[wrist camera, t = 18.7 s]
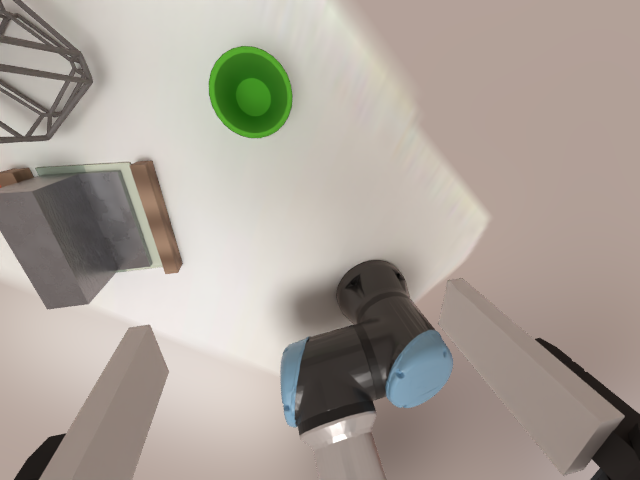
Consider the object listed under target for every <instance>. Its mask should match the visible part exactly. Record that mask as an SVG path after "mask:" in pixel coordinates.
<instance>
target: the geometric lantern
mask: <svg viewBox="0 0 640 480" xmlns="http://www.w3.org/2000/svg"><path fill="white" fill-rule="evenodd" d="M13 1H14V2H15V3H16V4H18V5H19V6H20V7H21V8H22V9H23V10H25V11H26V12H27V13H28V14H29V15H30V16H32V17H33V18H34V19H35V20H36V21H38V22H39V23H40V24H41V25H42V26H43V27H45V28H46V29H47V30H48V31H49V32H50V33H52V34H53V35H54V36H55V37H56V38H57V39H59V40H60V41H61V42H62V43H63V44H64V45H66V46H67V47H68V48H69V49H65V48H64V47H63V46H61V45H60V44H58V43H57V42H56V41H54V40H53V39H52V38H50V37H49V36H48V35H46V34H45V33H44V32H42V31H41V30H39V29H38V28H37V27H35V26H34V25H33V24H31V23H30V22H29V21H27V20H26V19H25V18H23V17H22V16H20V15H19V14H13V13H10V12H7V11H6V10H5V8H4V6H3V4H2V2H1V0H0V18H3V20H2V22H1V24H0V42H1V43H7V44H12V45H17V46H23V47H28V48H34V49H39V50H44V51H50V52H55V53H59V54H60V55H61V56H63V57H64V58H66V59H67V60H68V61H70V63H71V66H72V70H71V72H70V74H69V76H68V75H62V74H56V73H50V72H45V71H39V70H33V69H27V68H22V67H16V66H10V65H4V64H0V71H3V72H10V73H17V74H23V75H30V76H37V77H44V78H51V79H57V80H64V81H65V83H64V85H63V87H62V89H61V91H60V92H59V94H58V96H57V98H56V100H55V102H54V104H53V105H52V107H51V109H50V111H48V110H46V109H44V108H43V107H41V106H40V105H38V104H36V103H35V102H33V101H32V100H30V99H29V98H27V97H25V96H24V95H22V94H21V93H19V92H17V91H16V90H14V89H13V88H11V87H9V86H8V85H6V84H5V83H3V82H2V81H0V84H1V85H2V86H4V87H6V88H7V89H9V90H10V91H12V92H14V93H15V94H17V95H18V96H20V97H22V98H23V99H25V100H26V101H28V102H30V103H31V104H33V105H34V106H36V107H38V108H39V109H41V110H42V111H44V112H46V113H41V112H40V111H38V110H37V109H35V108H33V107H32V106H30V105H28V104H27V103H25V102H24V101H22V100H20V99H19V98H17V97H15V96H14V95H12V94H11V93H9V92H7V91H6V90H4V89H2V88H1V87H0V91H1V92H3V93H5V94H6V95H8V96H10V97H11V98H13V99H15V100H16V101H18V102H19V103H21V104H23V105H24V106H26V107H28V108H29V109H31V110H33V111H34V112H36V113H37V114H39V115H40V116H39V117H38V119H37V120H36V122H35V123H34V124H33V126H32V127H31V129H30V130H29V131H28V133H27V134H26V135H25V136H22V135H21V134H19V133H18V132H16V131H15V130H13V129H12V128H10V127H9V126H7V125H6V124H4V123H3V122H1V121H0V127H2V128H3V129H5V130H6V131H8V132H9V133H11V134H12V135H14V136H15V137H0V143H13V142H33V141H46V140H50V139H51V137H52V136H53V135H54V133H55V132H56V131H57V129H58V128H59V127H60V126H61V124H62V123H63V122H64V120H65V119H66V118H67V116H68V115H69V114H70V112H71V111H72V110H73V108H74V107H75V106H76V104H77V103H78V102H79V100H80V99H81V98H82V96H83V95H84V94H85V92H86V91H87V90H88V89H89V87H90V86H91V85H92V83H93V80H92V76H91V74H90V71H89V69H88V66H87V64H86V61H85V59H84V57H83V55H82V53H81V51H79V50H78V49H76V48H75V47H74V46H73V45H72V44H71V43H70V42H68V41H67V40H66V39H65V38H64V37H63V36H61V35H60V34H59V33H58V32H57V31H56V30H54V29H53V28H52V27H51V26H50V25H49V24H48V23H46V22H45V21H44V20H43V19H42V18H41V17H39V16H38V15H37V14H36V13H35V12H34V11H32V10H31V9H30V8H29V7H28V6H27V5H26V4H24V3H23V2H22V1H21V0H13ZM2 14H5V15H6V16H5V15H2ZM16 18H19V19H21V20H22V21H23V22H25V23H26V24H28V25H29V26H30V27H32V28H33V29H34V30H36V31H37V32H38V33H40V34H41V35H43V36H44V37H45V38H47V39H48V40H49V41H51V42H52V43H54V44H55V45H56V46H58V47H55V46H53V45H52V44H50V43H49V42H47V41H46V40H45V39H43V38H42V37H41V36H39V35H38V34H36V33H35V32H34V31H32V30H31V29H30V28H28V27H27V26H25V25H24V24H23V23H21V22H20V21H19V20H17V19H16ZM10 19H12V20H13V21H14V22H16V23H17V24H19V25H20V26H21V27H23V28H24V29H25V30H27V31H28V32H30V33H31V34H32V35H34V36H35V37H37V38H38V39H39V40H41V41H42V42H43V43H45V44H41V43H36V42H32V41H27V40H22V39H17V38H13V37H8V36H3V35H2V33H3V31H4V29H5V27H6V24H7V22H8V20H10ZM65 54H67V55H70V56H71V57H68V56H67V55H65ZM74 62H77V63H80V65H81V67H82V68H83V69H77V68H76V66H75V64H74ZM75 72H77V73H79V74H80V75H82V76H81V78H79V77H73V76H74V74H75ZM83 72H84V73H83ZM85 78H86V79H85ZM70 81H71V82H78V83H77V85H76V87H75V88H74V90H73V92H72V94H71V96H70V97H69V99H68V101H67V103H66V104H65V106H64V108H63V110H62V111H61V112H54V111H55V109H56V107H57V105H58V104H59V102H60V100H61V98H62V96H63V94H64V92H65V91H66V89H67V87H68V85H69V83H70ZM82 83H84V84H83V86H82V87H81V88H80V86H81V84H82ZM79 88H80V90H79ZM78 90H79V91H78ZM77 91H78V92H77ZM76 93H77V94H76ZM52 116H53V117H58V116H59V118H58V119H57V120H56V122H55V123H54V124H53V126H52ZM44 117H48V122H47V134H46V135H41V136H31V135H32V133H33V132H34V131H35V129H36V128H37V126H38V125H39V124H40V122H41V121H42V119H43V118H44Z"/></svg>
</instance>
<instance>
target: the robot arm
mask: <svg viewBox="0 0 640 480" xmlns="http://www.w3.org/2000/svg"><path fill="white" fill-rule="evenodd" d="M337 301H338V304H339V306H340V309H341V311H342V313H343V314H344V315H345V316H346V317H347V318H348V319H349V320H350V321H351V322H352V323H353V324H354V325H351V326H347V327H344V328H341V329H337V330H334V331H331V332H327V333H323V334H320V335H316V336H313V337H307V338H306V339H303V340H301V341H298V342H295V343H292V344H290V345H289V346H287V347H286V349H285V350H284V352H283V356H282V360H281V395H282V403H283V404H284V415H285V419H286V422H287V424H288V425H289V426H292V427H297V426H298V429H299V435H300V439H301V440H302V441H303V442H304V443H306V444H307V445H308V446H310V447H311V448H312V450H313V451H314V456H315V461H316V467H317V472H318V477H319V480H387V479H386V476H385V473H384V470H383V467H382V463H381V460H380V457H379V454H378V451H377V447H376V445H375V441H374V438H373V435H372V426H373V423H374V420H375V418H376V415H377V413H376V410H375V407H374V404H373V401H374V400H377V399H380V398H383V397H386V396H387V398H388V399H389V401H391V402H392V404H393V405H395V406H397V407H400V408H401V407H404V408H410V407H414V406H417V405H420V404H422V403H424V402H426V401H427V400H429V399H430V398H432V397H433V396H434V395H435V394H436V393H438V391H440V390H441V388H442V387H443V386H444V385H445V383H446V382H447V380H448V379H449V377H450V374H451V372H452V368H453V358H452V355H451V353H450V350H449V349H448V347H447V346H446V344H445V343H444V341H443V340H442V338H441V336H440V334H439V333H438V332H437V331H436V330H435V329H434V328H433V327H432V325H431V324H430V323H429V322H428V320H427V319H426V318H425V317H424V315H423V314H422V313H421V312H420V310H419V309H418V308H417V306H416V305H415V304H414V303H413V302H412V300H411V299H410V296H409V292H408V289H407V285H406V281H405V279H404V277H403V275H402V274H401V273H400V271H399V270H398V269H397V268H396V267H395V266H394V265H392V264H390V263H388V262H385V261H379V260H374V261H368V262H364V263H362V264H359V265H357V266H356V267H354V268H352V269H351V270H350V271H349V272H348V273H347V274H346V275H345V276H344V277H343V278H342V280H341V282H340V284H339V286H338V289H337ZM438 324H439V326H440V327H441V328H442V329H443V330H444V332H445V333H446V334H447V335H448V337H449V338H450V339H451V340H452V341H453V343H454V344H455V345H456V346H457V348H458V349H459V350H460V351H461V352H462V354H463V355H464V356H465V357H466V358H467V360H468V361H469V362H470V363H471V364H472V366H473V367H474V368H475V369H476V371H477V372H478V373H479V374H480V376H482V378H483V379H484V380H485V381H486V383H487V384H488V385H489V386H490V387H491V389H492V390H493V391H494V393H495V394H496V395H497V396H498V397H499V399H500V400H501V401H502V402H503V404H504V405H505V406H506V407H507V408H508V410H509V411H510V412H511V413H512V414H513V416H514V417H515V418H516V419H517V421H518V422H519V423H520V424H521V426H522V427H523V428H524V429H525V430H526V432H527V433H528V434H529V435H530V437H531V438H532V439H533V440H534V441H535V442H536V444H537V445H538V446H539V447H540V449H541V450H542V451H543V452H544V453H545V455H546V456H547V457H548V458H549V460H550V461H551V462H552V463H553V464H554V466H555V467H556V468H557V469H558V471H559V472H560V473H561V474H562V475H563V476H564V475H567V474H571V473H574V472H578V471H581V470H583V469H584V468H585V467H586V466H587V465H588V463H589V462H590V461H591V459H592V460H593V461H594V462H595V463H596V464H597V465H598V466H599V467H600V469H599V470H598V471H597V472H596V474H595V475H594V476H593V477H592V478H591V480H640V414H639V413H637V412H636V411H635V410H634V409H632V408H631V407H630V406H629V405H627V404H626V403H625V402H624V401H622V400H621V399H620V398H619V397H618V396H616V395H615V394H613V393H612V392H611V391H610V390H609V389H608V388H606V387H605V386H604V385H603V384H601V383H600V382H599V381H598V380H597V379H595V378H594V377H593V376H592V375H590V374H589V373H588V372H585V371H584V369H583V368H582V367H581V366H579V365H578V364H576V363H575V362H573V361H572V359H571V358H569V357H568V356H567V355H566V354H564V353H563V352H562V351H561V350H560V349H558V348H557V347H555V346H553V345H552V344H550V343H548V342H546V341H544V340H542V339H541V338H537V339H534V338H532V337H531V336H530V335H529V334H528V333H526V332H525V331H524V330H523V329H522V328H521V327H519V326H518V325H517V324H516V323H515V322H513V321H512V320H511V319H510V318H509V317H508V316H506V315H505V314H504V313H503V312H502V311H500V310H499V309H498V308H497V307H495V305H493V304H492V303H491V302H490V301H489V300H487V299H486V298H485V297H484V296H483V295H482V294H480V293H479V292H478V291H477V290H476V289H475V288H473V287H472V286H471V285H470V284H469V283H467V282H466V281H465V280H464V279H463V278H459V279H452V280H448V281H447V286H446V290H445V295H444V300H443V304H442V309H441V313H440V318H439V322H438ZM168 373H169V370H168V368H167V366H166V363H165V361H164V358H163V356H162V353H161V351H160V348H159V346H158V343H157V341H156V338H155V336H154V333H153V331H152V328H151V326H150V325H144V326H137V327H130V328H129V329H128V330H127V332H126V334H125V335H124V337H123V339H122V340H121V342H120V344H119V345H118V347H117V349H116V350H115V352H114V354H113V355H112V357H111V359H110V361H109V362H108V364H107V366H106V367H105V369H104V371H103V372H102V374H101V376H100V377H99V379H98V381H97V383H96V384H95V386H94V388H93V389H92V391H91V393H90V394H89V396H88V398H87V399H86V401H85V403H84V405H83V407H82V408H81V410H80V411H79V413H78V415H77V416H76V418H75V420H74V422H73V423H72V425H71V427H70V429H69V430H68V432H67V433H66V434H61V435H56V436H51V437H49V438H48V439H47V440H46V441H45V442H44V443H43V444H42V445H41V446H40V447H39V448H38V449H37V450H36V451H35V452H34V453H33V454H32V455H31V456H30V457H29V458H28V459H27V461H26V462H25V464H24V465H23V467H22V468H21V470H20V471H19V473H18V474H17V476H16V477H15V479H14V480H132V478H133V475H134V472H135V469H136V466H137V463H138V461H139V457H140V455H141V451H142V449H143V446H144V443H145V440H146V437H147V434H148V431H149V428H150V425H151V423H152V419H153V417H154V414H155V411H156V408H157V405H158V402H159V399H160V396H161V393H162V390H163V387H164V385H165V382H166V379H167V376H168Z"/></svg>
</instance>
